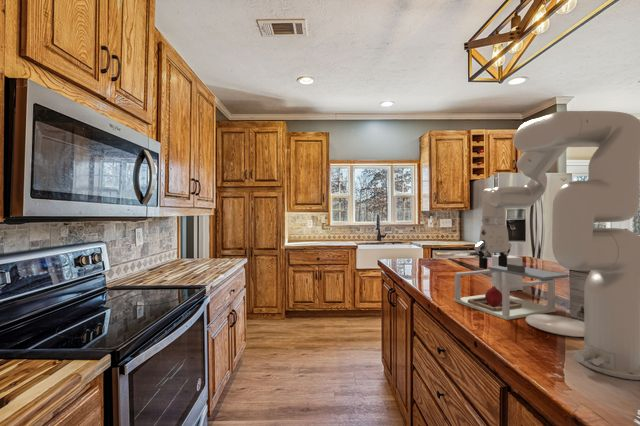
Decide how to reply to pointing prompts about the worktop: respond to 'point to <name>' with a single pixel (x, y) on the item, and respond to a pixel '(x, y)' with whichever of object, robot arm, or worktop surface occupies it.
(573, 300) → the coffee box
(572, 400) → the worktop surface
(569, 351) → the worktop surface
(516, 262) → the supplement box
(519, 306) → the white tiered shelf stand
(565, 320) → the plate
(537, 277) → the slide cover
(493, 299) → the onion
